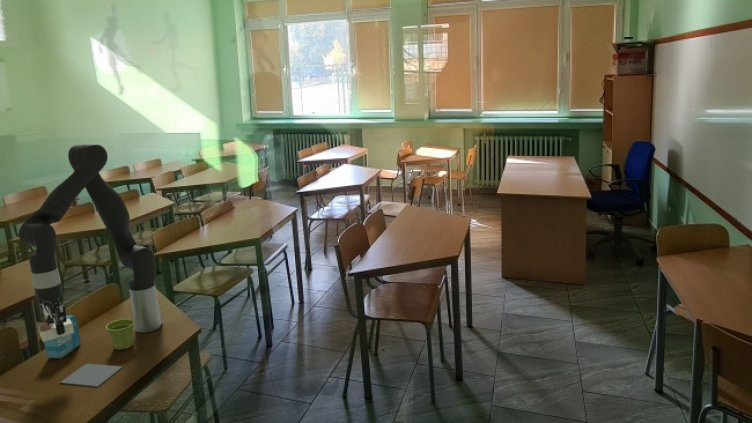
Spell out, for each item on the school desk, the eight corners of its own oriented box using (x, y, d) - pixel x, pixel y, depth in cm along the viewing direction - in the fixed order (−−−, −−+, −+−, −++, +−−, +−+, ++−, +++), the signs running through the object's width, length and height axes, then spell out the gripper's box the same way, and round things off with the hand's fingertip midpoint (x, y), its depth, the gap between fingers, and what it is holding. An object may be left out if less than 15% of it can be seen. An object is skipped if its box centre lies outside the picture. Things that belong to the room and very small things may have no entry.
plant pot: (122, 338, 208) (119, 317, 206) (143, 341, 205) (139, 320, 203) (103, 350, 200) (99, 328, 198) (124, 353, 197) (120, 331, 195)
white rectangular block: (71, 328, 186) (69, 318, 185) (74, 332, 182) (72, 323, 181) (40, 336, 180) (38, 326, 180) (42, 341, 177) (40, 331, 176)
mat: (86, 364, 190) (86, 363, 190) (122, 367, 187) (122, 366, 187) (60, 383, 179) (60, 382, 179) (97, 387, 176) (97, 386, 176)
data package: (58, 360, 194) (52, 328, 191) (47, 359, 195) (41, 328, 192) (81, 343, 206) (76, 314, 203) (70, 343, 206) (65, 313, 203)
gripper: (70, 283, 176) (79, 332, 180) (48, 275, 184) (58, 322, 188) (45, 291, 170) (55, 342, 174) (24, 282, 178) (34, 331, 182)
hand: (56, 331), depth 181 cm, fingers closed on white rectangular block, 5 cm apart
